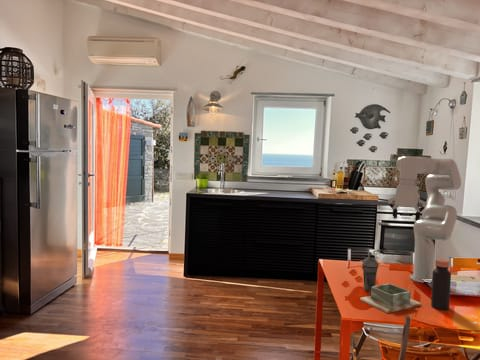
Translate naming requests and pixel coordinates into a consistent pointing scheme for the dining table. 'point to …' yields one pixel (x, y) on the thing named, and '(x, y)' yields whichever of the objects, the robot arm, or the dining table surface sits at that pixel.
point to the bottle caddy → (390, 298)
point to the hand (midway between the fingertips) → (405, 219)
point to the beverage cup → (369, 272)
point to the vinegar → (441, 285)
